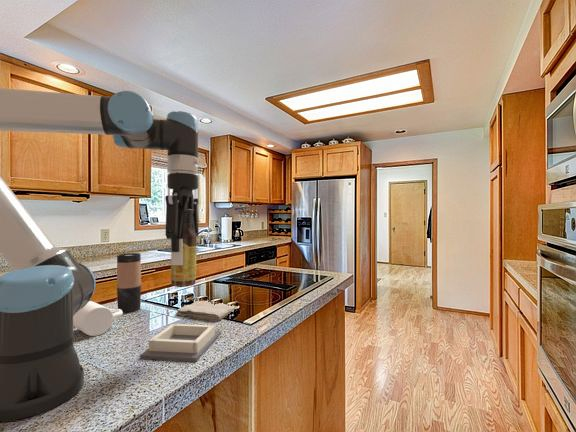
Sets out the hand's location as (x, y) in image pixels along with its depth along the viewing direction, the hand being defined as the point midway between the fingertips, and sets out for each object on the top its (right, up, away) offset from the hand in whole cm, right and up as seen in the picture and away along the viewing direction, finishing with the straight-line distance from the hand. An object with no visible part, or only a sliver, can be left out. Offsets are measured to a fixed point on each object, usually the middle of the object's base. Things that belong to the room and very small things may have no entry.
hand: (183, 262), depth 78 cm
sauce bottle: (0, -6, 0) cm, 6 cm away
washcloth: (-1, -22, +26) cm, 34 cm away
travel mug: (-30, -22, +30) cm, 48 cm away
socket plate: (0, -21, 0) cm, 21 cm away
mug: (-29, -22, +12) cm, 38 cm away
